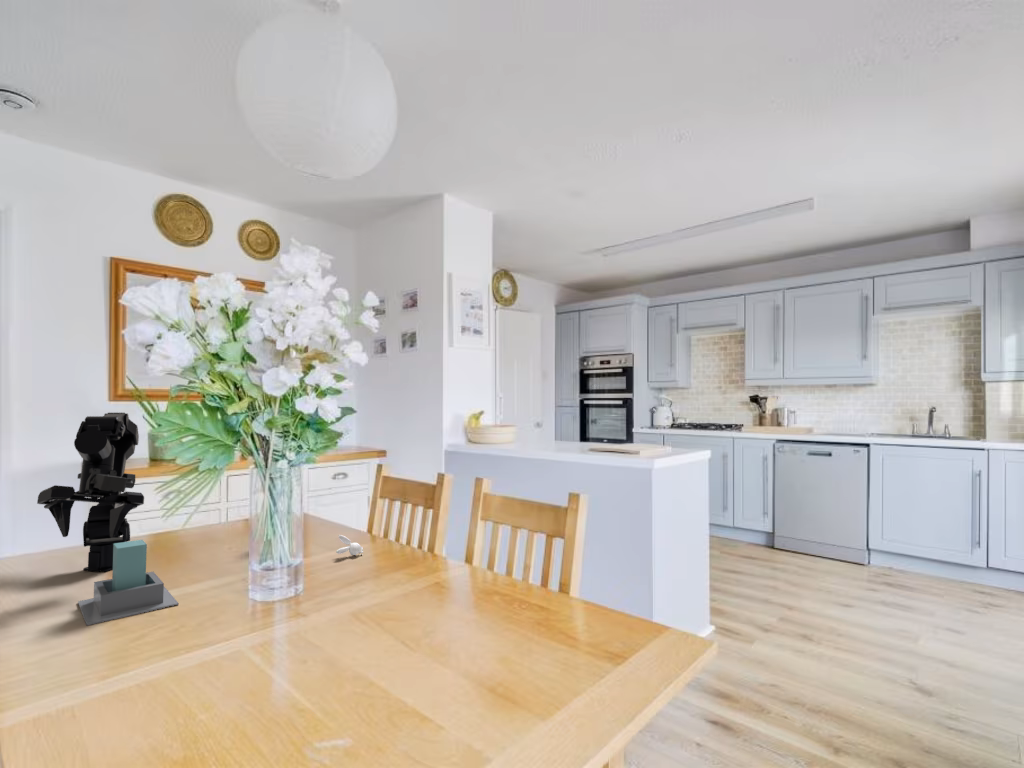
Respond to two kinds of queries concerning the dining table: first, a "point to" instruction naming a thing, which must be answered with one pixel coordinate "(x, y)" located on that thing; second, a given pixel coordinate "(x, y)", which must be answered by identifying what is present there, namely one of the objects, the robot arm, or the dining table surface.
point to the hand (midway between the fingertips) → (89, 537)
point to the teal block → (129, 565)
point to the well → (125, 600)
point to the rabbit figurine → (353, 547)
